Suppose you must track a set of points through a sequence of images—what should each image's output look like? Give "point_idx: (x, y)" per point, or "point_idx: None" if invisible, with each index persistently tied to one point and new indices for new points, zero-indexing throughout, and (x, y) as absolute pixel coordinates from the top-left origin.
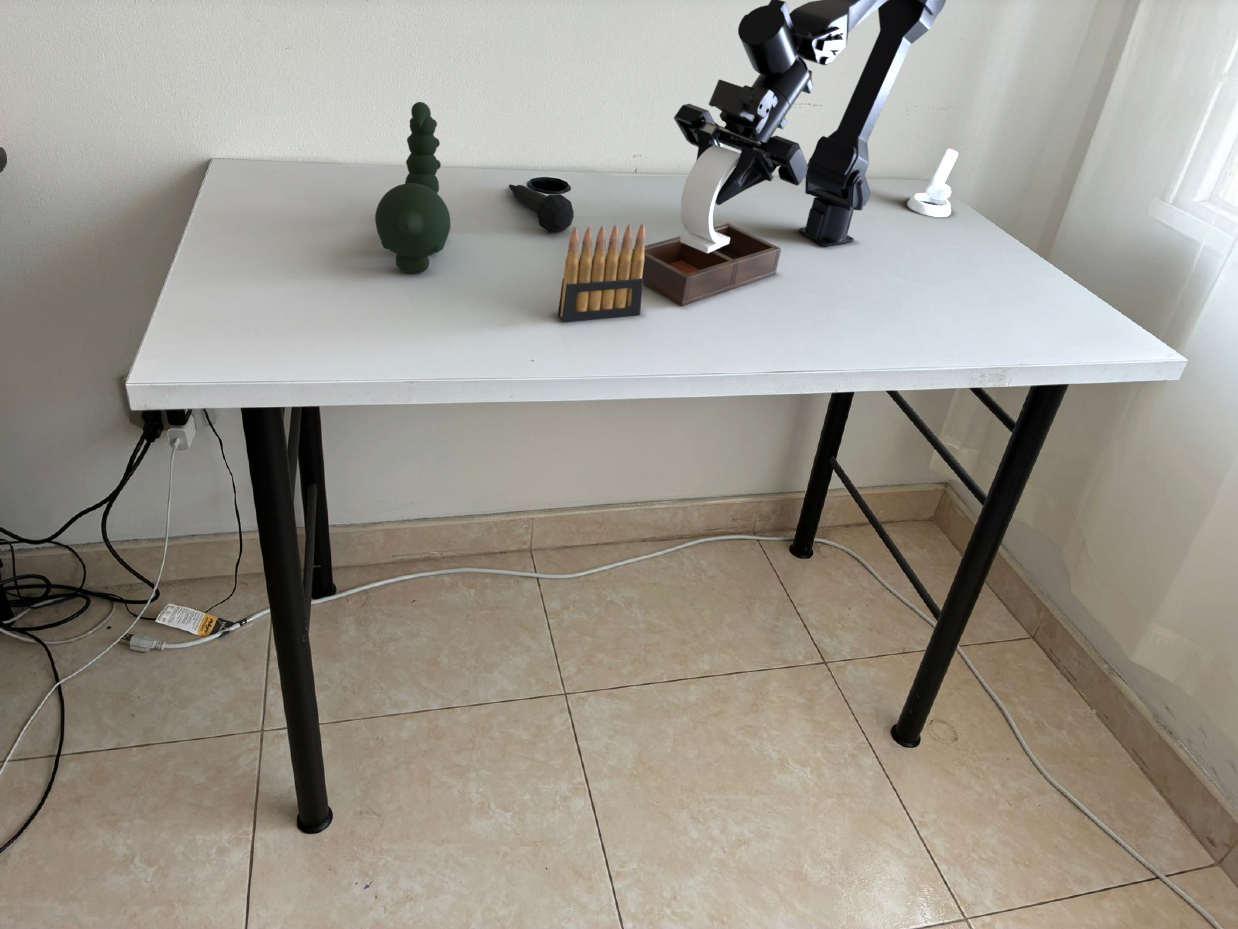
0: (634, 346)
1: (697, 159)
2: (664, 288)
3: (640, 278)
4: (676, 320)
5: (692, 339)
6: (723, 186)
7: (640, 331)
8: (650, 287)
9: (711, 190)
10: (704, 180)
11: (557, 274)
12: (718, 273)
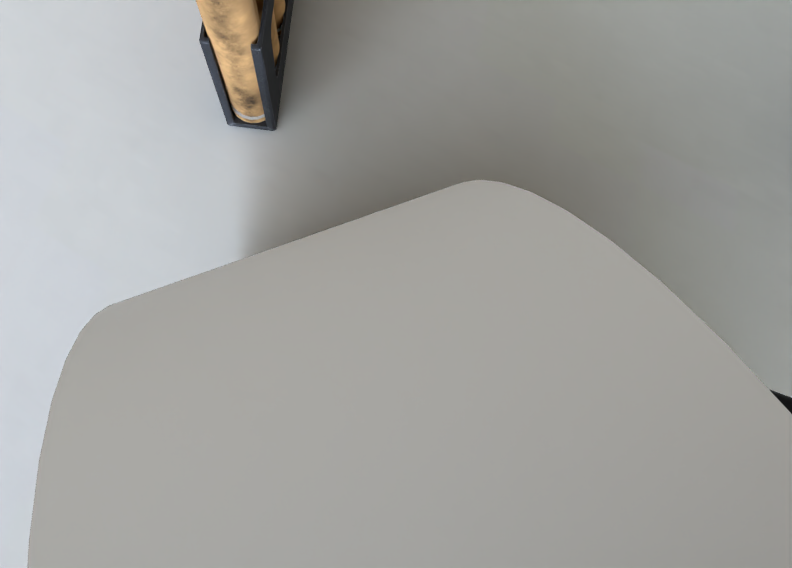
0: (48, 6)
1: (788, 406)
2: None
3: (206, 31)
4: (150, 223)
5: (7, 203)
6: None
7: (127, 71)
8: None
9: (146, 297)
10: (283, 263)
11: (562, 24)
12: None
